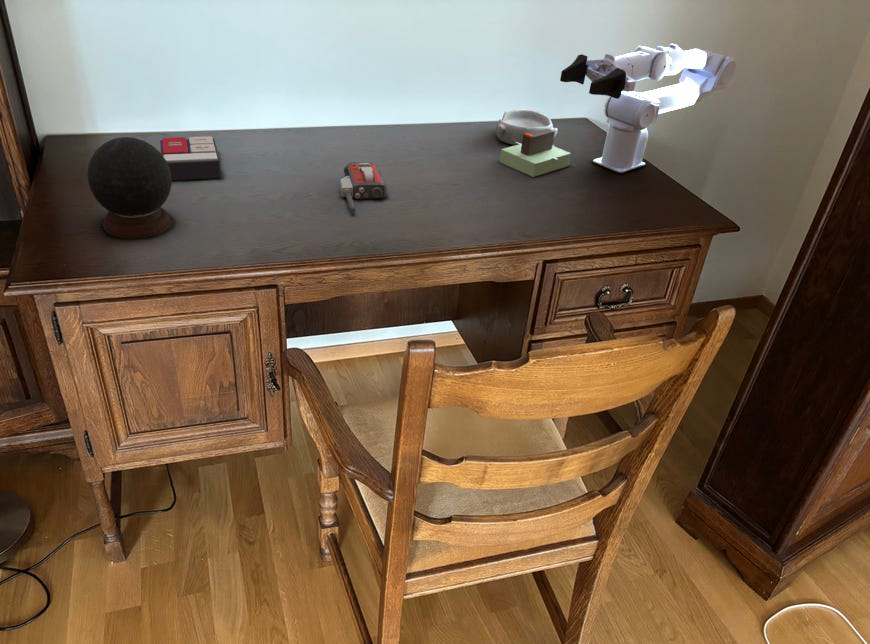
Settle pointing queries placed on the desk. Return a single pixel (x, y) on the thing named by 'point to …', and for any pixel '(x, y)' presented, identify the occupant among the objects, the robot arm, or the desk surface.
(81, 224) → the desk surface
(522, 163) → the stand
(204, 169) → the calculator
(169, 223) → the ball on wooden base
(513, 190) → the desk surface
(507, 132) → the dish
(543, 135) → the brown block
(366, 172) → the walkie-talkie
